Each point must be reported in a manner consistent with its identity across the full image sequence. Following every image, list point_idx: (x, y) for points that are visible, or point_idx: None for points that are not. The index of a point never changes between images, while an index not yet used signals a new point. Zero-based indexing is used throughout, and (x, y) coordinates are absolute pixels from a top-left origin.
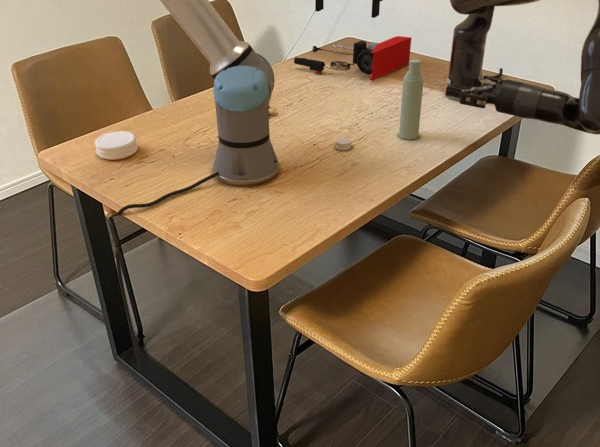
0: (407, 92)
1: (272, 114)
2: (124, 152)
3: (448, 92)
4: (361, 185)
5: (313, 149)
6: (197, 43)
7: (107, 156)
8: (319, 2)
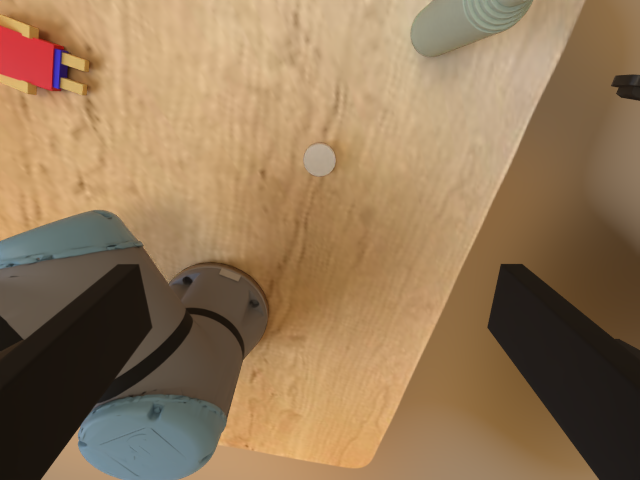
0: (470, 38)
1: (88, 69)
2: None
3: (627, 95)
4: (402, 275)
5: (271, 192)
6: None
7: None
8: (123, 346)
